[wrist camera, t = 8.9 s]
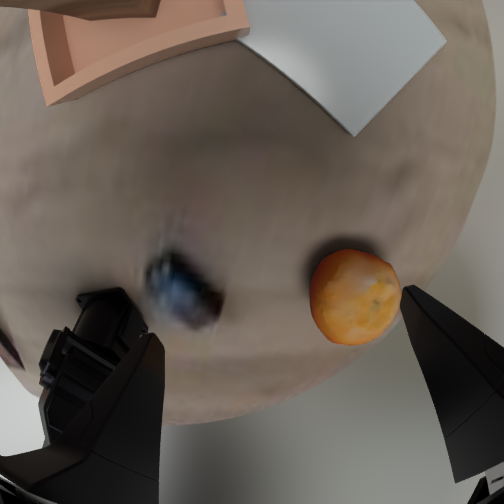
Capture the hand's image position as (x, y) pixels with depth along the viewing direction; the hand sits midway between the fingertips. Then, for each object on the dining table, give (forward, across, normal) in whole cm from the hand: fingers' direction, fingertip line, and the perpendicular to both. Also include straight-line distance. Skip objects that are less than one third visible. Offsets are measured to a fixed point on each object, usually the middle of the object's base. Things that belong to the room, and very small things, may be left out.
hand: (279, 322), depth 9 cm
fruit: (+13, -6, +10) cm, 18 cm away
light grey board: (+13, -8, -11) cm, 19 cm away
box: (+13, +5, -17) cm, 22 cm away
